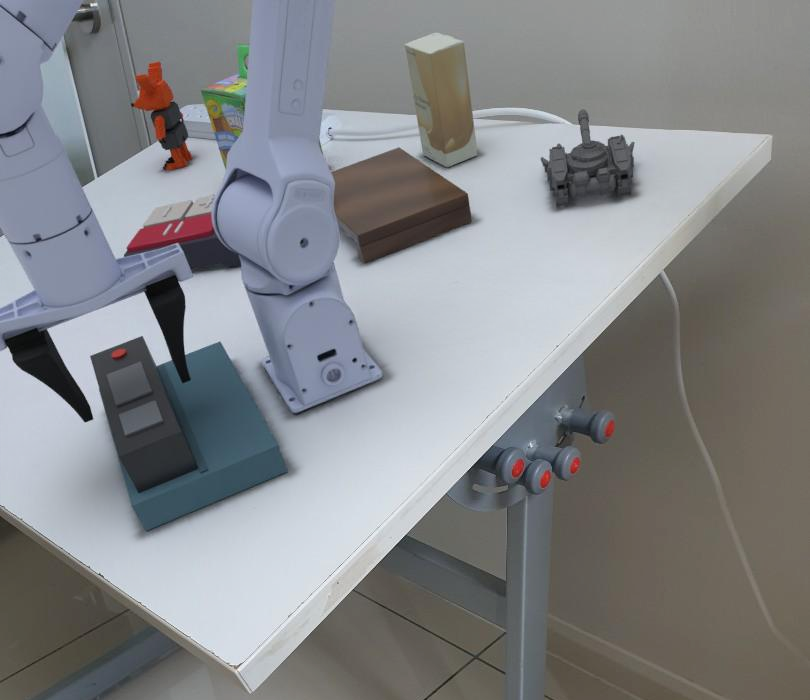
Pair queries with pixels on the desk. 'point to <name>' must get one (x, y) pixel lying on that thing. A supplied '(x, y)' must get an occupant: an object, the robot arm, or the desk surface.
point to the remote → (141, 415)
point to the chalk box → (229, 105)
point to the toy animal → (163, 115)
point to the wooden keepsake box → (395, 203)
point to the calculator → (184, 234)
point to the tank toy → (590, 166)
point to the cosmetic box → (442, 98)
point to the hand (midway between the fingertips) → (136, 395)
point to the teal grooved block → (210, 439)
